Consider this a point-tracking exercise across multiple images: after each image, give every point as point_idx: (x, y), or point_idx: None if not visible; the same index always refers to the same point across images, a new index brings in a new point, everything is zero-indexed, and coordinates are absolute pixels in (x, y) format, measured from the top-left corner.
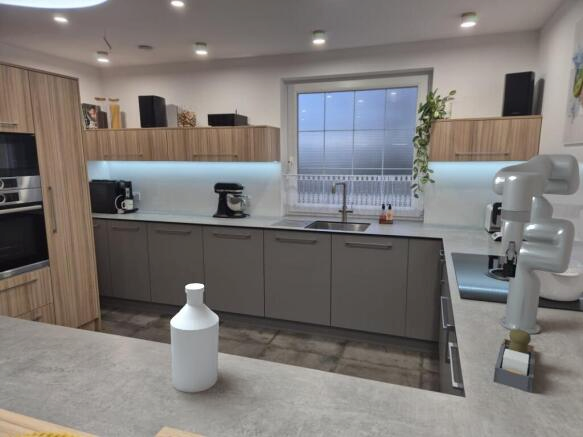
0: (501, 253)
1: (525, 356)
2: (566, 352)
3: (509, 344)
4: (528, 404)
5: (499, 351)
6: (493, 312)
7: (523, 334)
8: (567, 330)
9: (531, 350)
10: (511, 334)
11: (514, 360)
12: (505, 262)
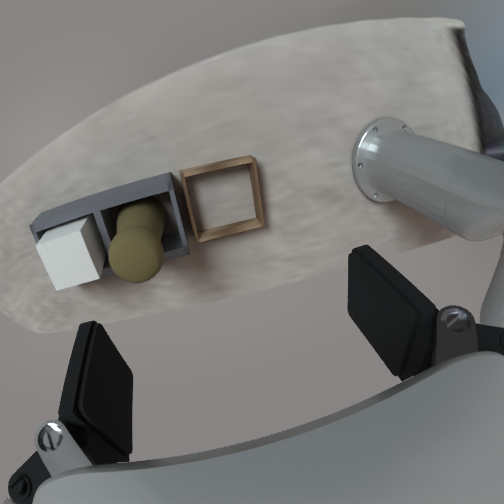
0: (38, 489)
1: (83, 276)
2: (309, 262)
3: (250, 170)
4: (30, 280)
5: (114, 196)
6: (427, 98)
7: (122, 274)
8: (413, 235)
9: (256, 217)
10: (113, 242)
11: (45, 266)
12: (40, 436)
